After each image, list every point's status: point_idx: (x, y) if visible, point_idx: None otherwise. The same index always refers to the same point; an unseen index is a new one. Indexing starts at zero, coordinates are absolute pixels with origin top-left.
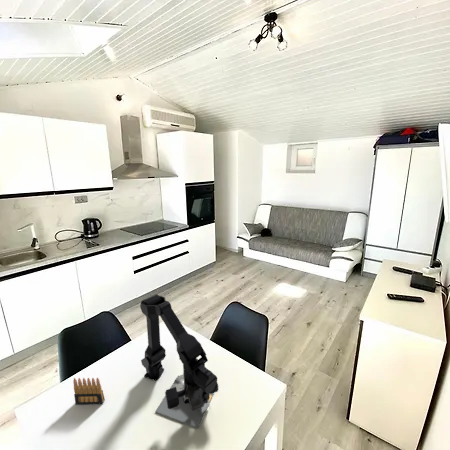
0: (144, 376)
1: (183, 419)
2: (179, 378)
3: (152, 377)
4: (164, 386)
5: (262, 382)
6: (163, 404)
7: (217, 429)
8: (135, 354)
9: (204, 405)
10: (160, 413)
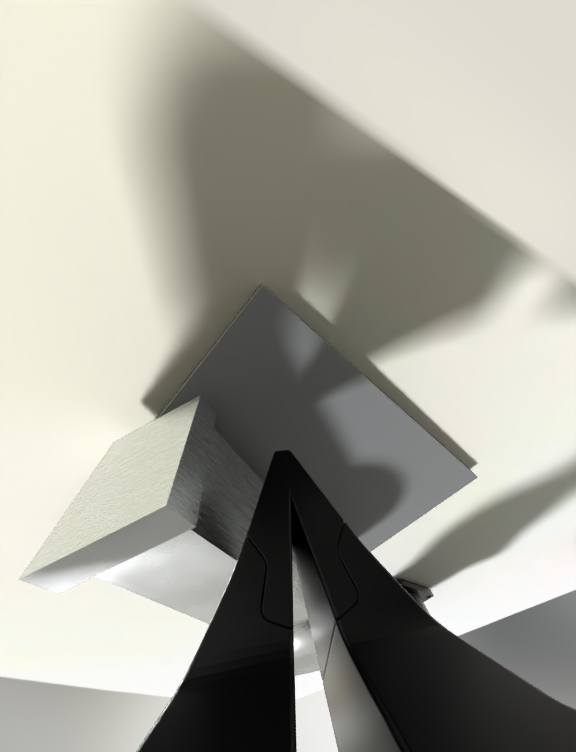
0: (432, 593)
1: (359, 396)
2: None
3: (410, 593)
4: None
5: None
6: (426, 499)
7: (23, 178)
8: None
9: (141, 469)
10: (461, 462)
